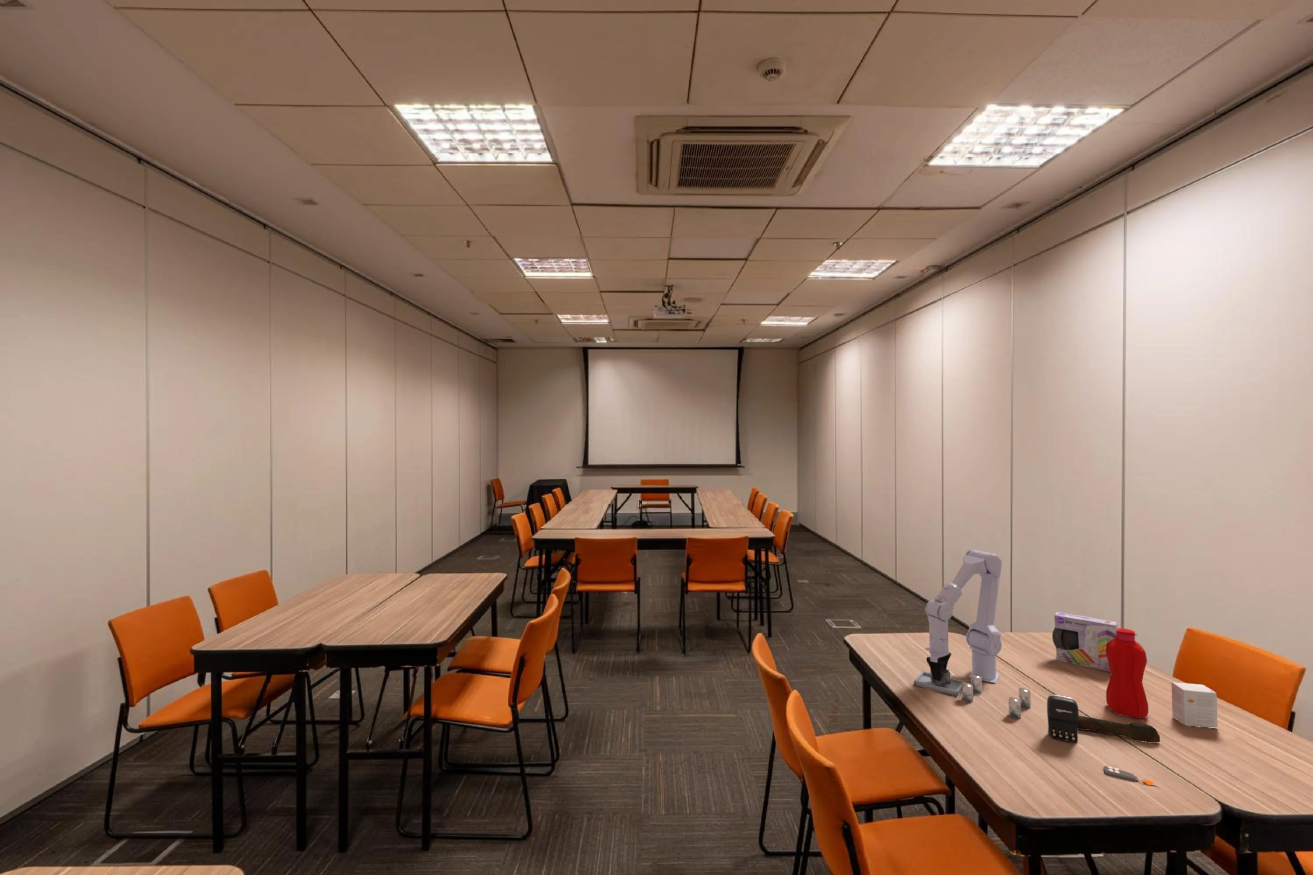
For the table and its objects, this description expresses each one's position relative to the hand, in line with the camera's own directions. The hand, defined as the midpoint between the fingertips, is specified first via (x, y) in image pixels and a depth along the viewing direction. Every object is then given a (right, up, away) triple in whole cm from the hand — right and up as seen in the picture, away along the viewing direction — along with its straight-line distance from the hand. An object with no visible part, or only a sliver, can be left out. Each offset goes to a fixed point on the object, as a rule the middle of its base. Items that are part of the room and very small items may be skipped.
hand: (939, 676), depth 184 cm
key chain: (+21, -3, -52) cm, 56 cm away
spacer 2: (+10, -3, -4) cm, 11 cm away
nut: (0, -2, 0) cm, 2 cm away
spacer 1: (+3, -3, -11) cm, 12 cm away
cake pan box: (+62, -3, +16) cm, 64 cm away
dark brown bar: (+33, -3, -31) cm, 46 cm away
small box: (+61, -2, -26) cm, 66 cm away
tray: (0, -3, 0) cm, 3 cm away
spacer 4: (+19, -3, -15) cm, 24 cm away
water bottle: (+47, -3, -18) cm, 50 cm away
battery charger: (+17, -3, -34) cm, 38 cm away
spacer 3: (+12, -3, -21) cm, 24 cm away
